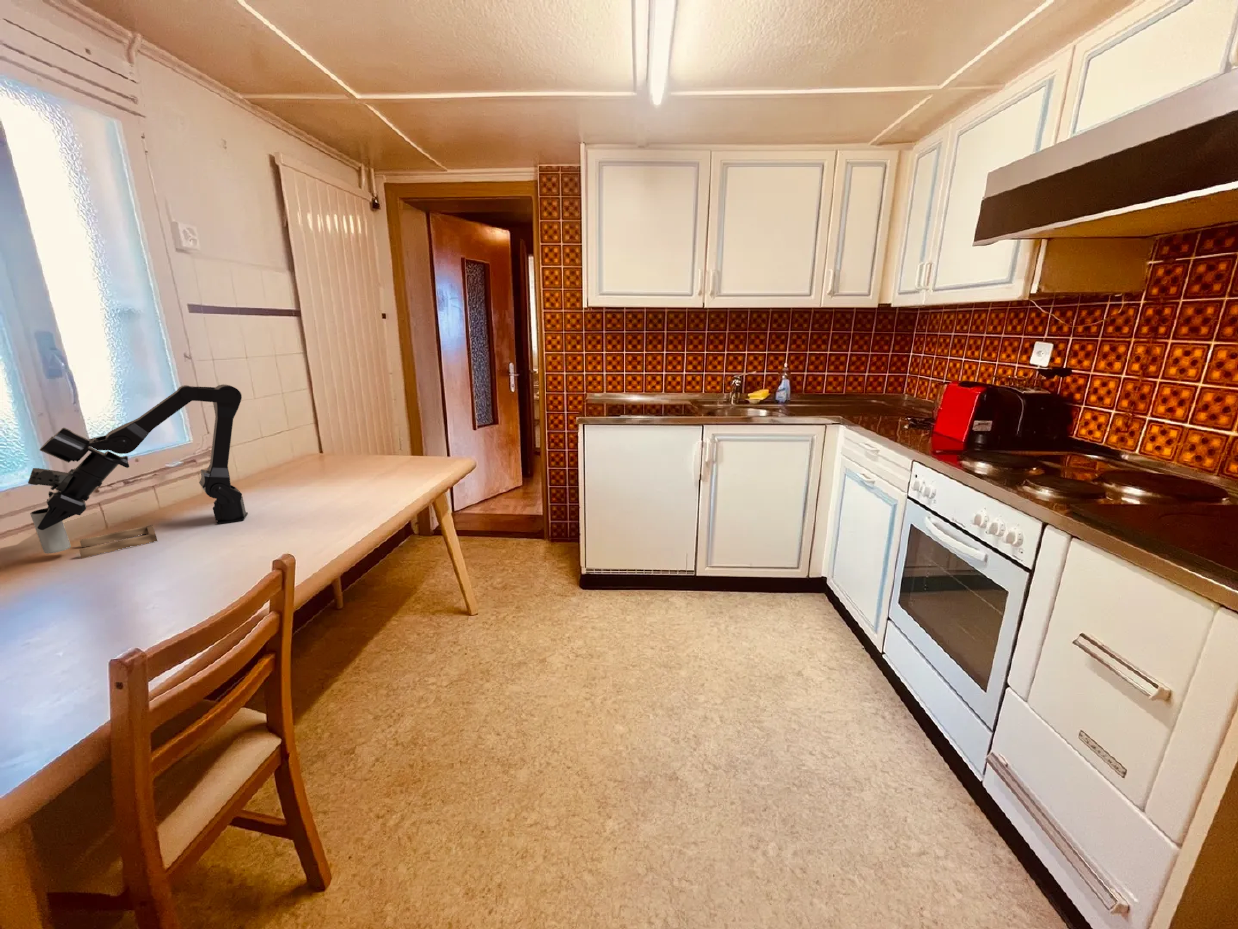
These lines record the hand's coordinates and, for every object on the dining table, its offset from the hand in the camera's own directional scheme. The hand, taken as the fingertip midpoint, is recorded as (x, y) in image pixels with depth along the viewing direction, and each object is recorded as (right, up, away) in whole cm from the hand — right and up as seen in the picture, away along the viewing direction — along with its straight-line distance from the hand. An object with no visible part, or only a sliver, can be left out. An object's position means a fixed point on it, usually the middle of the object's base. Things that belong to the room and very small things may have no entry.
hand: (40, 526), depth 120 cm
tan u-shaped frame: (+9, -6, +11) cm, 15 cm away
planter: (+1, -6, +3) cm, 7 cm away
